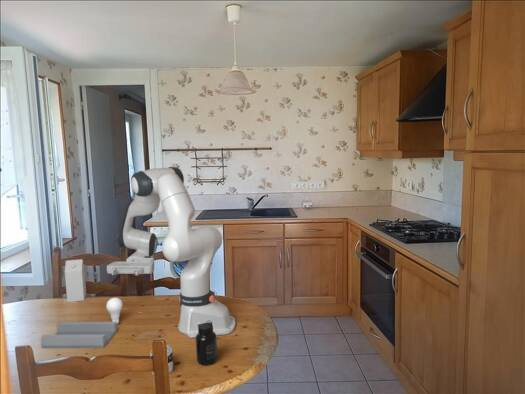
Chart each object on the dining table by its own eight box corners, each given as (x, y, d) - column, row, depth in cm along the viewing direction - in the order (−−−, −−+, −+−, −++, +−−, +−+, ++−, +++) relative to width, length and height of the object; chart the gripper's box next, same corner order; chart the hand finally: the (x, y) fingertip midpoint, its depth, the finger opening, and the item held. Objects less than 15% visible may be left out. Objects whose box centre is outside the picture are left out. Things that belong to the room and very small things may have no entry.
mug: (168, 377, 113) (167, 357, 112) (147, 376, 114) (146, 355, 113) (180, 359, 123) (179, 340, 122) (161, 358, 124) (160, 339, 123)
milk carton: (70, 297, 177) (67, 258, 175) (86, 295, 179) (83, 257, 177) (67, 302, 170) (63, 262, 168) (84, 300, 173) (81, 261, 170)
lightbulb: (118, 328, 145) (116, 301, 144) (104, 327, 146) (102, 300, 145) (126, 321, 151) (125, 295, 150) (113, 320, 152) (111, 294, 151)
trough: (117, 331, 143) (116, 321, 142) (103, 347, 131) (102, 337, 130) (60, 331, 143) (59, 321, 143) (41, 348, 131) (40, 337, 131)
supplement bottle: (218, 354, 126) (217, 320, 124) (216, 365, 119) (215, 330, 118) (197, 354, 126) (196, 321, 124) (195, 366, 119) (193, 331, 117)
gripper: (113, 257, 172) (99, 266, 158) (156, 257, 172) (147, 266, 158) (113, 270, 173) (100, 280, 159) (157, 270, 173) (148, 280, 159)
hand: (124, 273), depth 159 cm, fingers open, 8 cm apart
